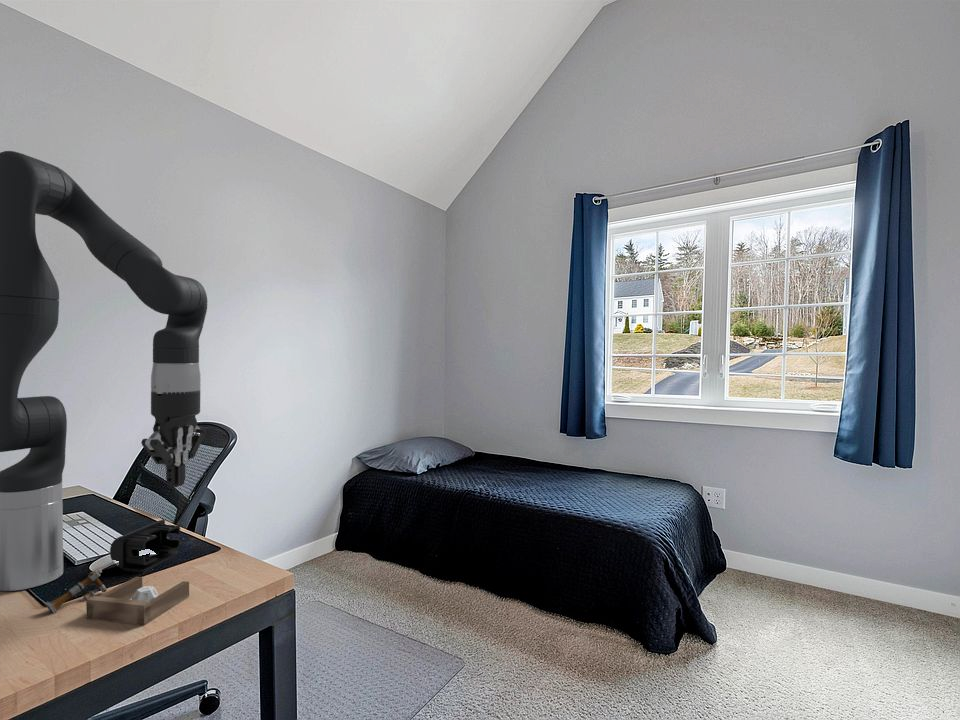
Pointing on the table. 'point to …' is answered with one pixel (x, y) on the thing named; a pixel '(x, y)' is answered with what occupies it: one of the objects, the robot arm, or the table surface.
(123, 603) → the dice corral
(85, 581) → the wooden post with brackets
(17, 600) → the table surface
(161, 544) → the end cap
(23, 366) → the robot arm
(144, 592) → the game die
